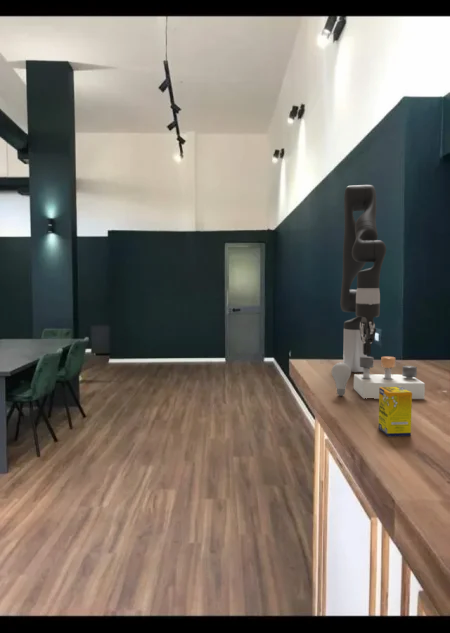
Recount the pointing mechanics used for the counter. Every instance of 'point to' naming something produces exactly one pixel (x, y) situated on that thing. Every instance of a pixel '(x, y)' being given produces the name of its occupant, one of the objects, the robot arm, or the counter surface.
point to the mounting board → (387, 385)
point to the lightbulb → (341, 376)
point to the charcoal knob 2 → (409, 372)
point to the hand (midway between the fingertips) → (366, 354)
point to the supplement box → (395, 411)
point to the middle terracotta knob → (388, 366)
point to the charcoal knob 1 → (366, 365)
